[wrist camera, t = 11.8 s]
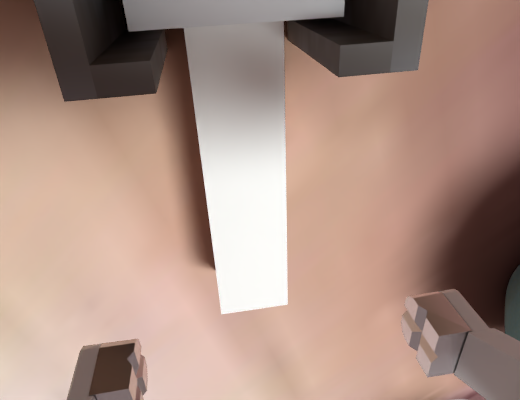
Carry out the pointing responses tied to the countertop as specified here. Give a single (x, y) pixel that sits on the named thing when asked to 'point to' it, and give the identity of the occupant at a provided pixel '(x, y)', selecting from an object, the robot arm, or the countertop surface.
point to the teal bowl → (513, 306)
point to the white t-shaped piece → (239, 130)
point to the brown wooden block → (155, 48)
